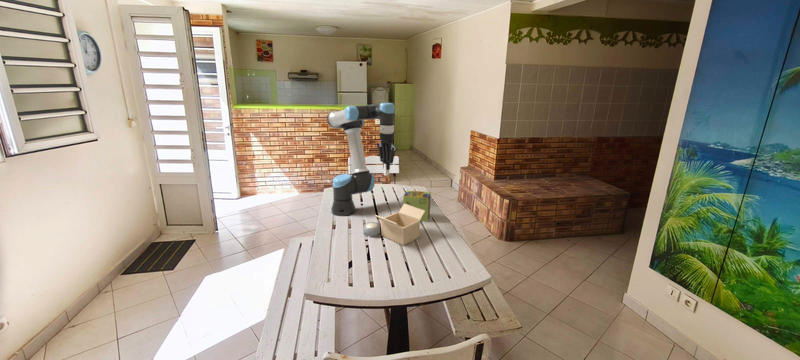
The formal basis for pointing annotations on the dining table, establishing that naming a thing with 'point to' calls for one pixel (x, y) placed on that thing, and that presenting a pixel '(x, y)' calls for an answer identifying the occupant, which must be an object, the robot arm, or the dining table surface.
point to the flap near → (388, 221)
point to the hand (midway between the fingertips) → (386, 174)
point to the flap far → (412, 211)
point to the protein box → (418, 202)
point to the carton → (397, 234)
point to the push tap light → (371, 229)
